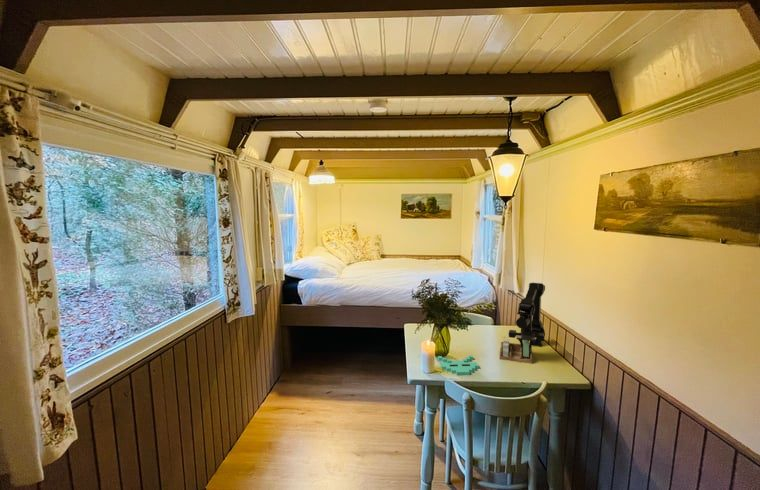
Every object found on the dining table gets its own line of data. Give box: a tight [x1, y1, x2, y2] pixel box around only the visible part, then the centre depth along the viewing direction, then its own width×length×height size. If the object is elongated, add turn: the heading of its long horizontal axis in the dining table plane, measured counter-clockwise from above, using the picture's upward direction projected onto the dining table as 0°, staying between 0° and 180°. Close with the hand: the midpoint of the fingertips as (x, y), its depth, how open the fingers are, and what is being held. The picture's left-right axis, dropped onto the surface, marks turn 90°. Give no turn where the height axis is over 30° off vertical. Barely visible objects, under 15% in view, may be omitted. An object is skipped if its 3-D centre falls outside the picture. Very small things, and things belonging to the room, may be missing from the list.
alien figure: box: [437, 354, 480, 376], centre depth 185 cm, size 20×2×20 cm
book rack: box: [499, 338, 533, 365], centre depth 196 cm, size 14×17×8 cm
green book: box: [523, 340, 530, 357], centre depth 193 cm, size 10×3×8 cm, turn 156°
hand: (525, 349), depth 193 cm, fingers closed on green book, 3 cm apart
